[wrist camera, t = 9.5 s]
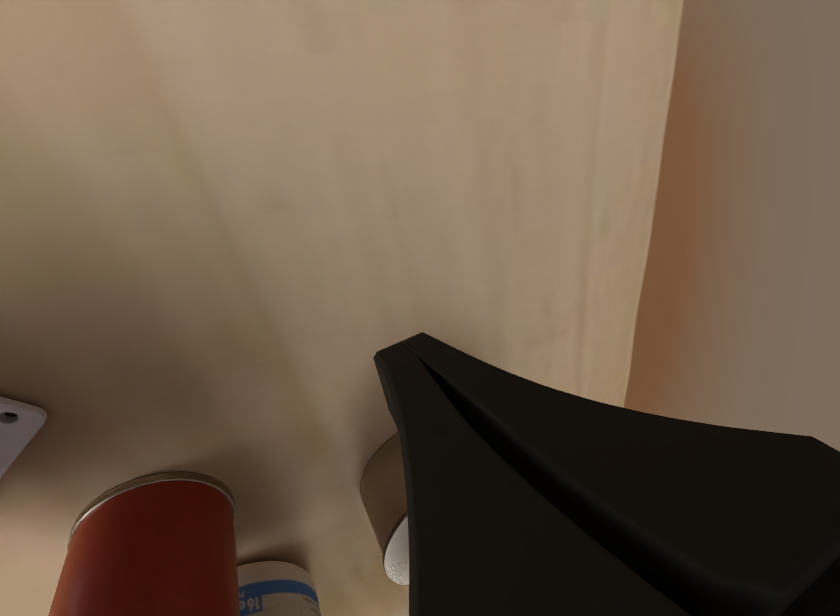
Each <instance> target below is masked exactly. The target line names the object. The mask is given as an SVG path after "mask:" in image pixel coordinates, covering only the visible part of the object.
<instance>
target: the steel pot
mask: <svg viewBox="0 0 840 616" xmlns="http://www.w3.org/2000/svg"><path fill="white" fill-rule="evenodd" d="M360 494H361V499H362V502H363V505H364V507H365V510H366V512H367V515H368V518H369V520H370V523H371V525H372V528H373V530H374V533H375V536H376V538H377V541H378V543H379V546H380V548H381V551H382V554H383V556H382V559H383V566H384V569H385V572H386V574H387V575H388V577H389V578H390V579H391V580H392V581H394V582H396V583H398V584H401V585H408V586H409V538H408V517H407V499H406V487H405V475H404V466H403V457H402V450H401V443H400V437H399V433H398V434H396V435H395V436H393V437H392V438H391V439H390V440H389V441H387V442H386V443H385V444H384V445H383V446H382V447H381V448H380V449H379V450H378V452H377V453H376V454H375V455H374V457H373V458H372V459H371V461H370V462H369V464H368V466H367V468H366V470H365V472H364V474H363V477H362V481H361V487H360Z"/></svg>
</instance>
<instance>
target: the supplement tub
mask: <svg viewBox="0 0 840 616" xmlns="http://www.w3.org/2000/svg"><path fill="white" fill-rule="evenodd" d="M237 574H238V589H239V604H240V616H321V612H320V607H319V603H318V598H317V594H316V589H315V585H314V582H313V580H312V578H311V577H310V575H309V574H308V573H307V572H306V571H305V570H304V569H302V568H301V567H299V566H298V565H295V564H292V563H288V562H282V561H262V562H255V563H249V564H245V565H241V566H238V567H237Z"/></svg>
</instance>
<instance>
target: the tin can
mask: <svg viewBox="0 0 840 616" xmlns="http://www.w3.org/2000/svg"><path fill="white" fill-rule="evenodd" d="M234 519H235V503H234V498H233V496H232V494H231V492H230V491H229V490H228V488H227V487H226V486H225V485H223V484H222V483H221V482H219V481H218V480H216V479H213V478H211V477H209V476H205V475H202V474H196V473H189V472H169V473H160V474H154V475H149V476H145V477H141V478H138V479H135V480H132V481H129V482H126V483H124V484H122V485H120V486H117V487H115V488H113V489H112V490H110V491H108V492H106V493H105V494H103V495H102V496H100V497H99V498H97V499H96V500H95V501H93V502H92V503H91V504H90V505H89V506H88V507H87V508H86V509H85V510H84V511H83V512H82V513H81V514H80V516H79V517H78V518H77V520H76V521H75V523H74V525H73V527H72V530H71V533H70V536H69V540H68V549H67V550H68V553H67V556H66V559H65V562H64V566H63V569H62V572H61V576H60V579H59V582H58V586H57V589H56V592H55V595H54V599H53V602H52V605H51V609H50V612H49V615H48V616H240V604H239V589H238V574H237V560H236V545H235V531H234Z"/></svg>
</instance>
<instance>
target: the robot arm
mask: <svg viewBox="0 0 840 616" xmlns="http://www.w3.org/2000/svg"><path fill="white" fill-rule="evenodd" d="M374 361H375V364H376V368H377V371H378V375H379V378H380V381H381V385H382V388H383V391H384V395H385V398H386V402H387V405H388V408H389V411H390V413H391V415H392V417H393V419H394V422H395V424H396V426H397V429H398V431H399V437H400V443H401V450H402V457H403V466H404V475H405V487H406V499H407V517H408V538H409V616H840V452H839V451H837V450H835V449H834V448H832V447H830V446H828V445H827V444H825V443H823V442H821V441H819V440H817V439H816V438H814V437H811V436H801V435H793V434H783V433H774V432H767V431H758V430H748V429H740V428H731V427H724V426H717V425H711V424H705V423H698V422H692V421H686V420H680V419H674V418H669V417H663V416H659V415H653V414H648V413H643V412H639V411H634V410H630V409H626V408H622V407H617V406H613V405H608V404H605V403H601V402H597V401H593V400H589V399H586V398H582V397H579V396H576V395H572V394H569V393H566V392H562V391H559V390H556V389H553V388H550V387H547V386H544V385H541V384H538V383H535V382H532V381H530V380H527V379H524V378H522V377H519V376H517V375H514V374H511V373H509V372H506V371H504V370H501V369H499V368H497V367H495V366H492V365H490V364H488V363H486V362H483V361H481V360H479V359H477V358H474V357H472V356H470V355H468V354H466V353H464V352H462V351H460V350H458V349H456V348H454V347H452V346H450V345H447V344H445V343H443V342H441V341H439V340H437V339H435V338H433V337H431V336H429V335H427V334H425V333H423V332H422V333H419V334H417V335H415V336H413V337H410V338H408V339H406V340H403V341H401V342H399V343H396V344H394V345H392V346H389V347H387V348H385V349H382V350H380V351H378V352H376V354H375V356H374ZM6 412H11V413H15V414H17V416H16V417H8V416H6V415H4V414H3V413H6ZM46 418H47V414H46V412H45V411H44V410H43V409H42V408H39V407H37V406H33V405H30V404H26V403H23V402H19V401H15V400H12V399H8V398H4V397H1V396H0V478H1V477H2V475H3V474H4V473H5V472H6V470H7V469H8V468H9V467H10V465H11V464H12V463H13V462H14V461H15V459H16V458H17V457H18V456H19V454H20V453H21V452H22V451H23V449H24V448H25V447H26V446H27V444H28V443H29V442H30V441H31V440H32V438H33V437H34V436H35V435H36V433H37V432H38V431H39V430H40V428H41V427H42V426H43V424H44V422H45V420H46Z"/></svg>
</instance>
